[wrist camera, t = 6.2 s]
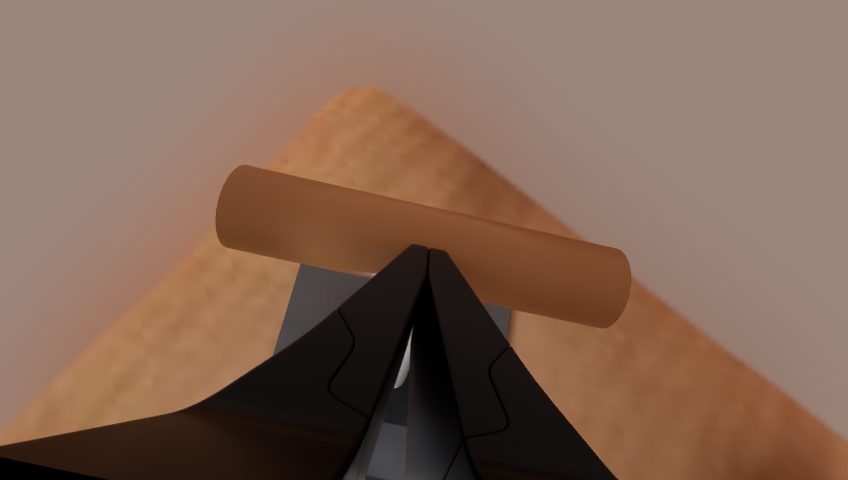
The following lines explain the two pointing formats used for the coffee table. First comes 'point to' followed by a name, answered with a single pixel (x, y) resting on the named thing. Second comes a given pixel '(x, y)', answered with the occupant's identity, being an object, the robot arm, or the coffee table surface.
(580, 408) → the coffee table surface
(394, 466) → the switch panel
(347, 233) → the lever
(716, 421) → the coffee table surface
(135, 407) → the coffee table surface
